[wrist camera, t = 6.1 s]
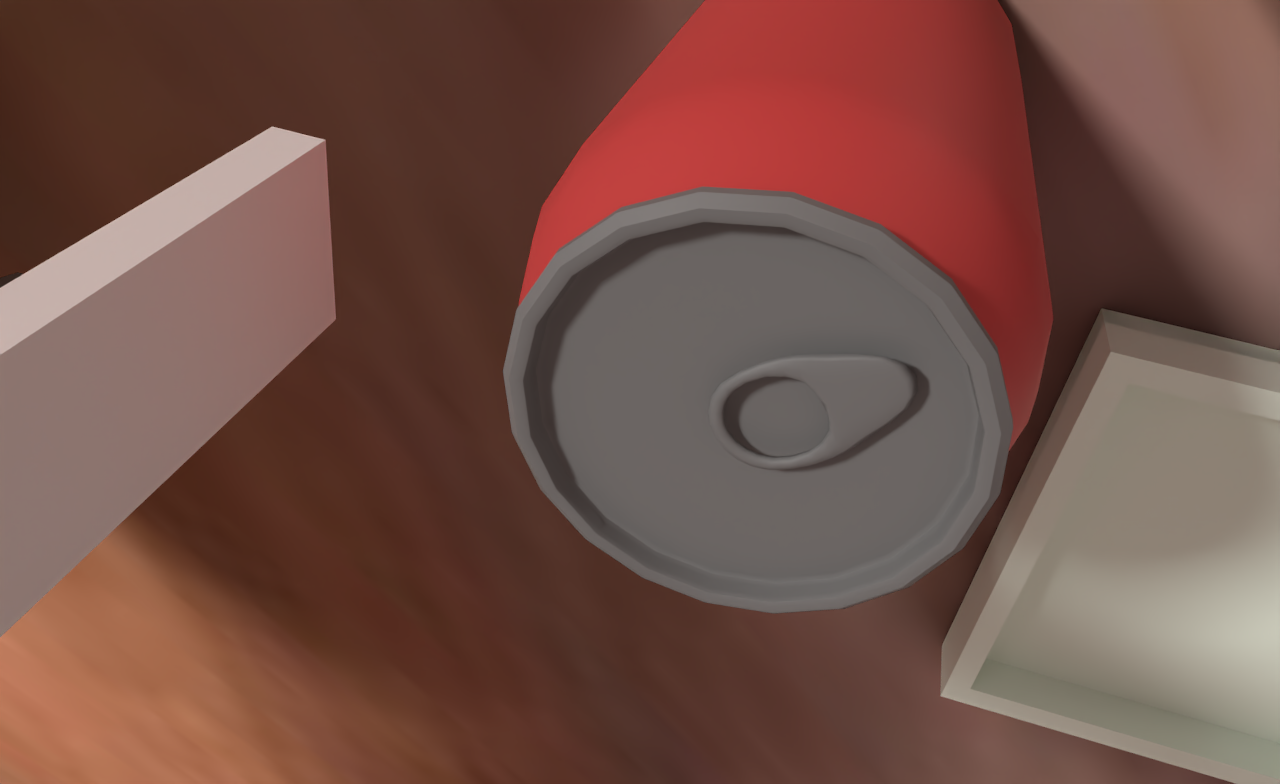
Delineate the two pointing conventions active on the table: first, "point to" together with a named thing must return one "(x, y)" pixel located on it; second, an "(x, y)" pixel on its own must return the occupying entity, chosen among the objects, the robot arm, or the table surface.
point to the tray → (1141, 559)
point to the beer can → (790, 303)
